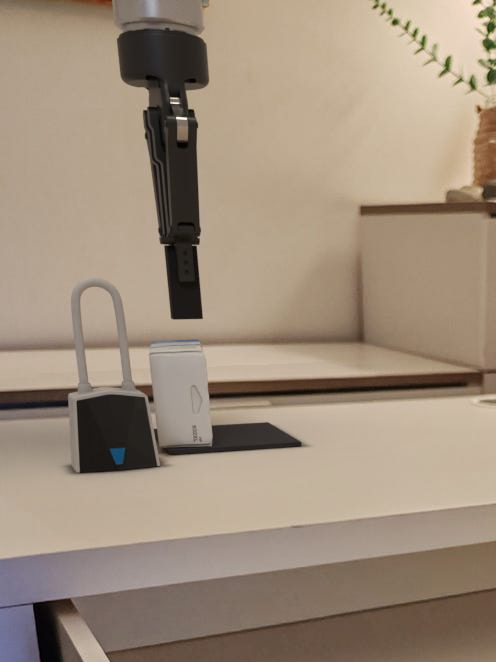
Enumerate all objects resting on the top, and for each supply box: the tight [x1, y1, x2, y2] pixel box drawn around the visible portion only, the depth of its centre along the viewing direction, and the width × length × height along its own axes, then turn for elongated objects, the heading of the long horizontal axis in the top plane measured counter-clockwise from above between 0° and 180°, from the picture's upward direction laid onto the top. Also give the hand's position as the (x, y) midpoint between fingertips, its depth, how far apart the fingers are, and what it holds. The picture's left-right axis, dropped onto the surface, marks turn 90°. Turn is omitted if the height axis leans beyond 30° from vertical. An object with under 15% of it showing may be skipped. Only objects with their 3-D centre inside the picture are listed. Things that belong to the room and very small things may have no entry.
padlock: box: [67, 277, 161, 474], centre depth 84 cm, size 7×4×15 cm, turn 117°
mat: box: [154, 421, 302, 456], centre depth 100 cm, size 13×12×1 cm
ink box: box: [148, 339, 213, 448], centre depth 97 cm, size 9×5×12 cm
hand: (186, 318), depth 98 cm, fingers closed
